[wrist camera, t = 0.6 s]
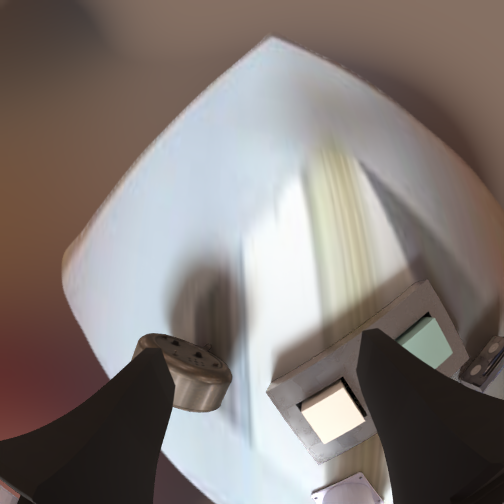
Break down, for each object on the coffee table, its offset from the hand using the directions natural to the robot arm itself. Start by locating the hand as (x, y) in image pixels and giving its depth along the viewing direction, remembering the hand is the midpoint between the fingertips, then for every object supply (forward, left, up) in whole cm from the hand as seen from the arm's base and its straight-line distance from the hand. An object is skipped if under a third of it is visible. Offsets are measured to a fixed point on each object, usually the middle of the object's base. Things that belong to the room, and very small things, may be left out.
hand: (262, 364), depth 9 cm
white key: (-11, +2, -22) cm, 25 cm away
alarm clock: (+2, +13, -24) cm, 27 cm away
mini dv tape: (-21, -18, -24) cm, 37 cm away
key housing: (-11, -4, -24) cm, 27 cm away
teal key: (-11, -10, -22) cm, 27 cm away
